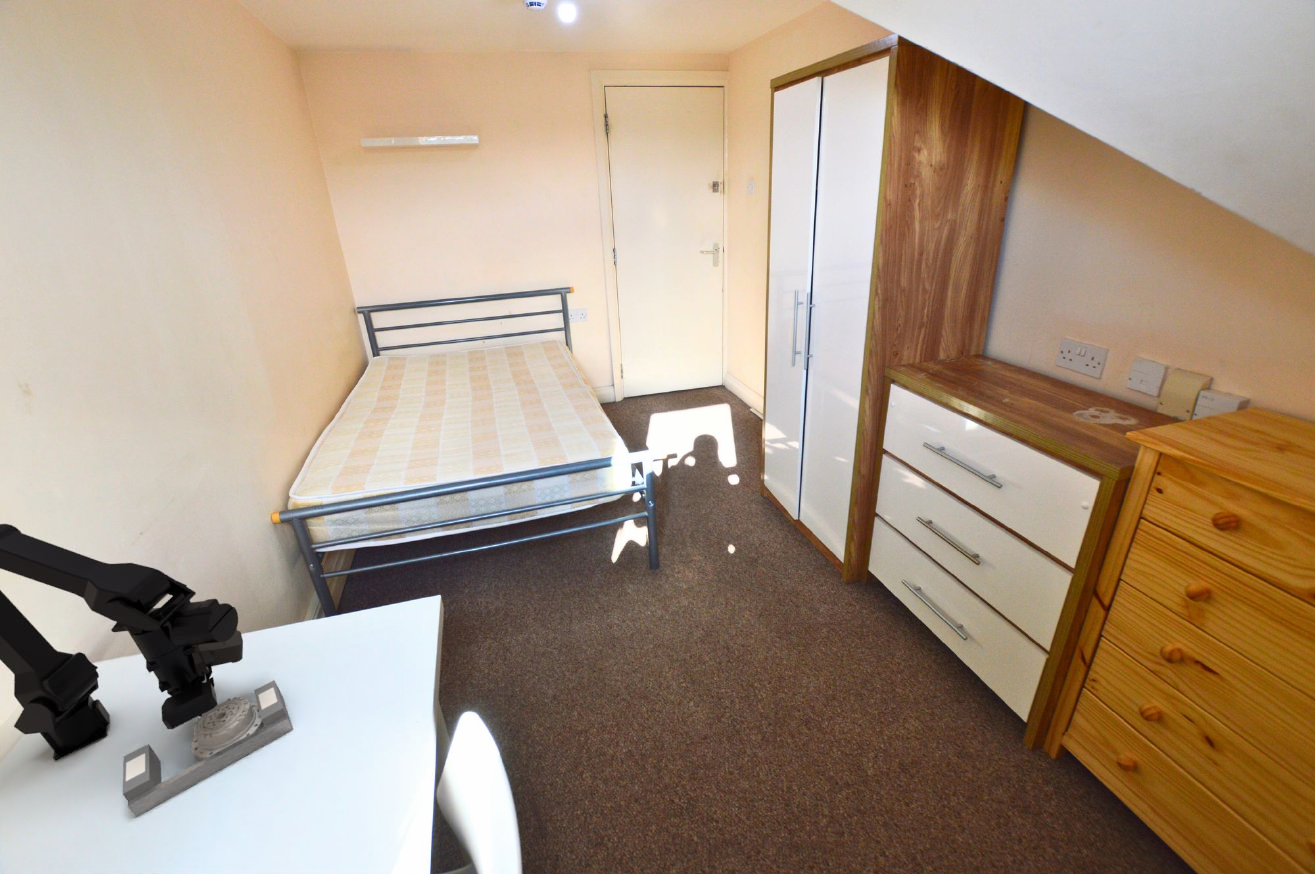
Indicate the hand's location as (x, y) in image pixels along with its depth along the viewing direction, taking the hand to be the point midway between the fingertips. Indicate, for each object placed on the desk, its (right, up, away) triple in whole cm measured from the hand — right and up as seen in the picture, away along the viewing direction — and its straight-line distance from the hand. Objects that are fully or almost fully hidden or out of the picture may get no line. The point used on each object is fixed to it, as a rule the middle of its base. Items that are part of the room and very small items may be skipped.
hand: (208, 715), depth 95 cm
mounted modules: (+5, -3, -4) cm, 7 cm away
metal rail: (+8, -4, -8) cm, 12 cm away
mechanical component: (+5, -2, -2) cm, 6 cm away
